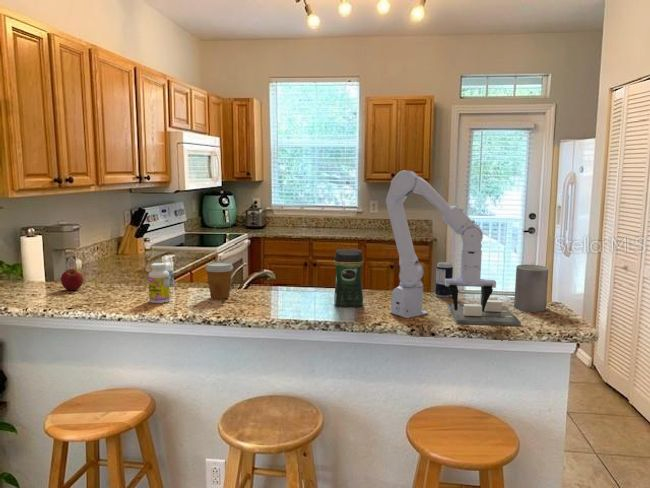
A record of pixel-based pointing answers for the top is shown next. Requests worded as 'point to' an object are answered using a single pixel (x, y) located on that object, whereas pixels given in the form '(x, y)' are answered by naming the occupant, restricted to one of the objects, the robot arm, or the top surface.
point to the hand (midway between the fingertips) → (468, 310)
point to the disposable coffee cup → (219, 279)
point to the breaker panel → (485, 317)
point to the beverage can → (443, 278)
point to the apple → (72, 279)
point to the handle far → (490, 298)
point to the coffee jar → (348, 278)
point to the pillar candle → (531, 288)
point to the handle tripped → (472, 310)
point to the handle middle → (493, 306)
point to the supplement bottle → (159, 283)
